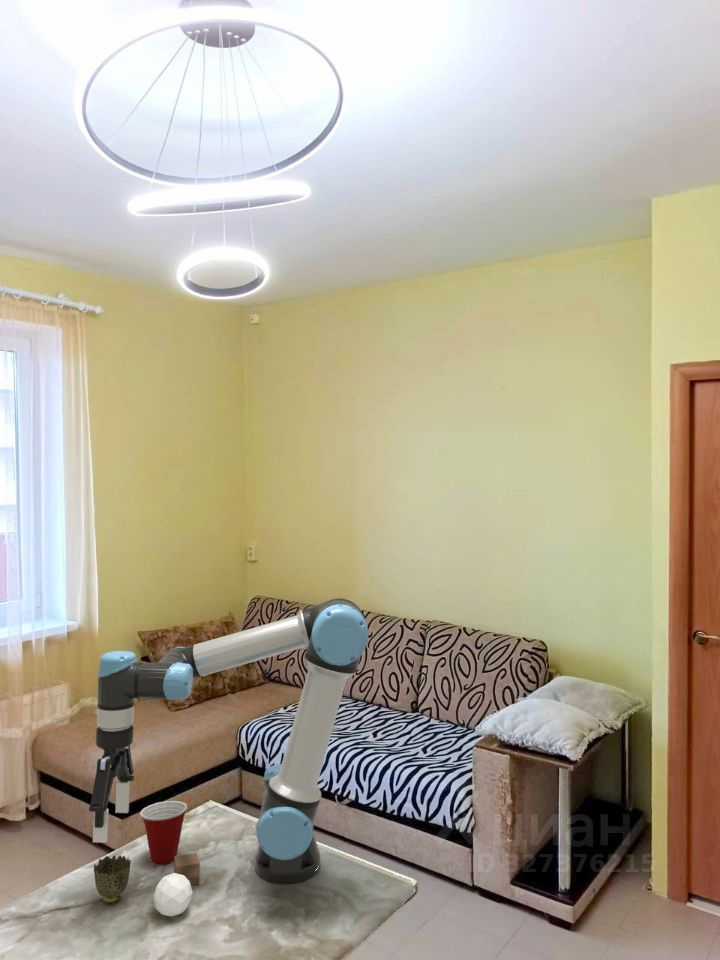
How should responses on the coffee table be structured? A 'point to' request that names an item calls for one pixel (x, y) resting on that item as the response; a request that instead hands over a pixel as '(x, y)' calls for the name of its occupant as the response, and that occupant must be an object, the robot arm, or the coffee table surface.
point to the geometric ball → (172, 894)
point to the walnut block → (188, 867)
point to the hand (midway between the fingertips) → (111, 826)
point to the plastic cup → (163, 829)
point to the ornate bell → (112, 878)
